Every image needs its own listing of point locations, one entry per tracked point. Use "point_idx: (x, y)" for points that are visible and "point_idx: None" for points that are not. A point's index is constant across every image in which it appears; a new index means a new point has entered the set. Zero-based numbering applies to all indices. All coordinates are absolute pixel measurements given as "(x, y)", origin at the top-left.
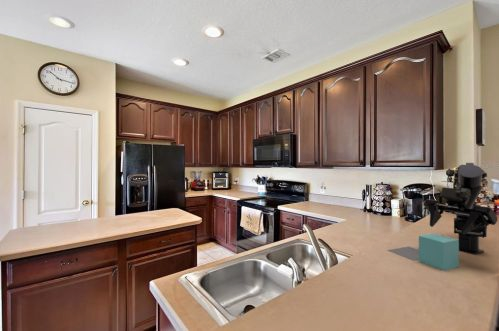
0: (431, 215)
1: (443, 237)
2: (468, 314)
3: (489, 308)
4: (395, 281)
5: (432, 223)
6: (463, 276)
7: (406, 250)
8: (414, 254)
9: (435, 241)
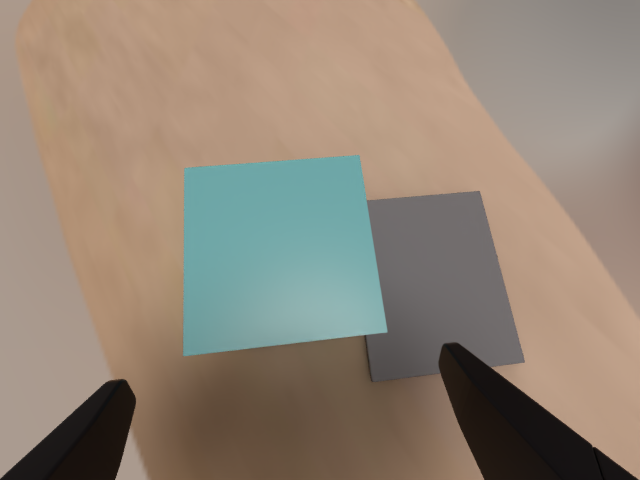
0: (601, 471)
1: (271, 295)
2: (50, 45)
3: (33, 120)
4: (244, 22)
5: (457, 377)
6: (183, 273)
7: (466, 287)
8: (409, 275)
9: (242, 167)
